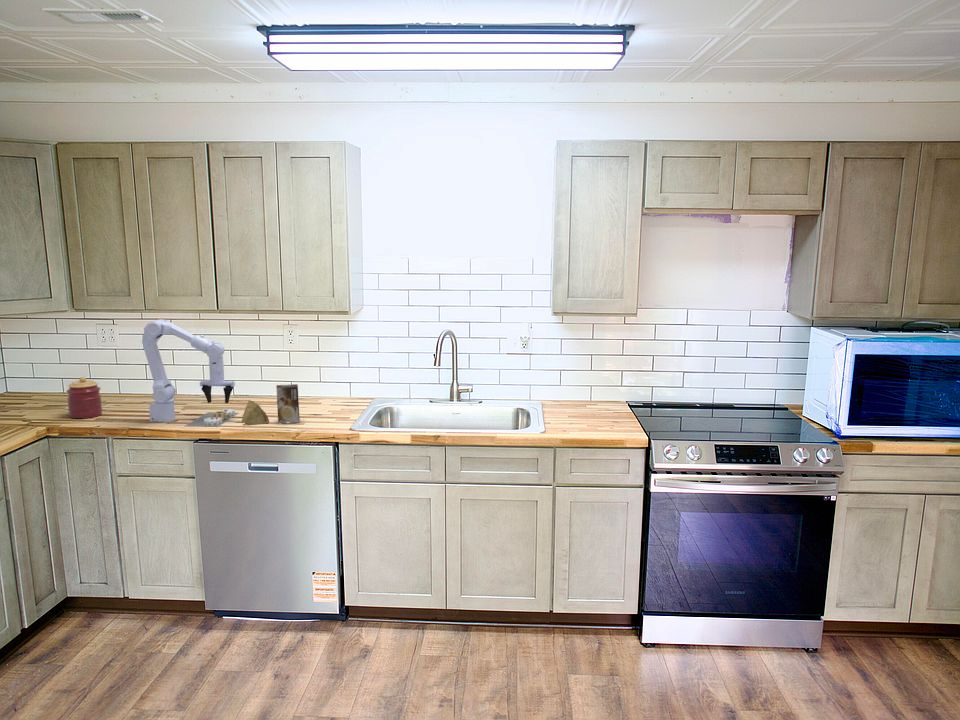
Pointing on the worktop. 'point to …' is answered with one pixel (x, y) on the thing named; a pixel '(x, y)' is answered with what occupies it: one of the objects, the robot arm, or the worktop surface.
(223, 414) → the brass gear
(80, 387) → the canister
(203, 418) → the gear board
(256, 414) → the rock
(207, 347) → the robot arm
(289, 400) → the coffee box
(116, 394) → the worktop surface
